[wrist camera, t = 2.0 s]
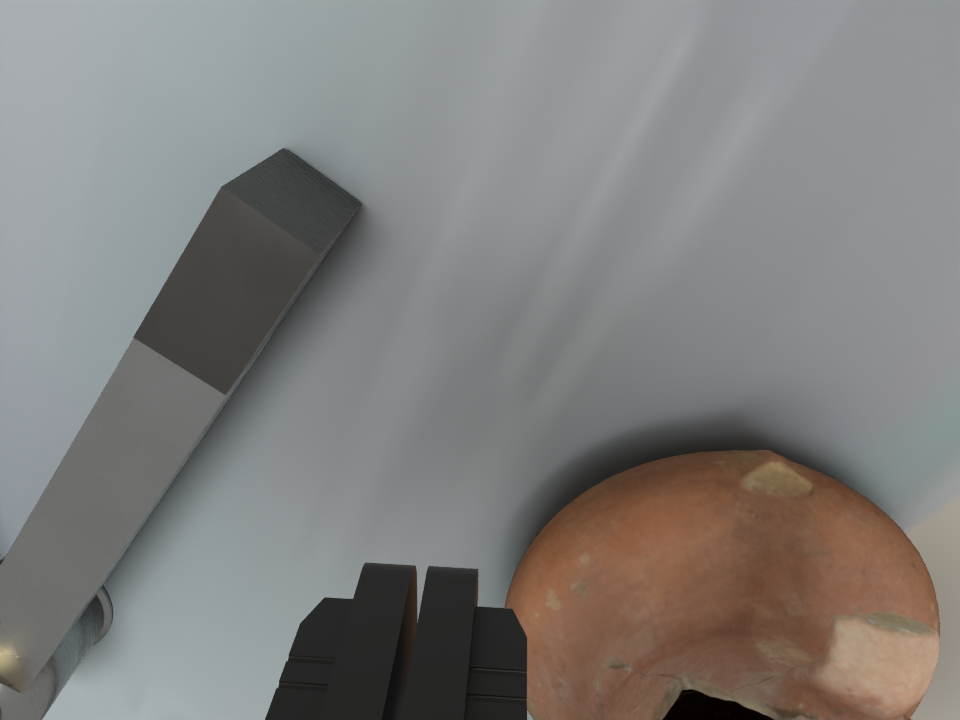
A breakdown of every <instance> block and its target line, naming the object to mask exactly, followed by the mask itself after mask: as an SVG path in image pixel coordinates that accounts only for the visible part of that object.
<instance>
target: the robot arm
mask: <svg viewBox="0 0 960 720" xmlns="http://www.w3.org/2000/svg"><path fill="white" fill-rule="evenodd" d="M477 603H478V569H468V568H451V567H434V566H429V567H428V570H427V574H426V580H425V585H424V591H423V596H422V602H421V607H420V613H419V619H418V624H417V572H416V566H414V565H397V564H380V563H365V564H364V566H363V568H362V571H361V574H360V578H359V581H358V585H357V588H356V591H355V595H354V598H353V599H341V598H324V599H323V600H322V601H321V602H320V603H319V604H318V605H317V606H316V607H315V608H314V609H313V611H312V612H311V613H310V614H309V615H308V616H307V617H306V618H305V619H304V620H303V621H302V622H301V623H300V626H299V628H298V631H297V634H296V637H295V639H294V642H293V645H292V648H291V650H290V653H289V659H288V661H286V664H285V667H284V669H283V672H282V675H281V678H280V680H279V687H278V688H277V689H276V691H275V694H274V697H273V699H272V702H271V705H270V708H269V710H268V713H267V716H266V719H265V720H527V636H526V634H525V632H524V630H523V628H522V626H521V624H520V622H519V620H518V618H517V616H516V615H515V613H514V611H513V609H507V608H491V607H477Z"/></svg>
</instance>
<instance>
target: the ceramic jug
mask: <svg viewBox="0 0 960 720" xmlns="http://www.w3.org/2000/svg"><path fill="white" fill-rule="evenodd" d="M505 608H507V609H513V611H514V613H515V615H516V616H517V618H518V620H519V622H520V624H521V626H522V628H523V630H524V632H525V634H526V636H527V710H528V712H529V713H530V715H531V716H532V717H533V719H534V720H911V719H910V717H911V716H912V715H913V713H914V712H915V710H916V708H917V707H918V705H919V704H920V702H921V700H922V698H923V696H924V695H925V693H926V691H927V689H928V687H929V685H930V683H931V678H932V675H933V673H934V670H935V668H936V665H937V660H938V656H939V651H940V643H939V642H940V641H939V638H940V622H939V611H938V603H937V600H936V594H935V590H934V586H933V583H932V580H931V577H930V575H929V572H928V570H927V567H926V565H925V563H924V562H923V559H922V558H921V556H920V554H919V552H918V551H917V549H916V548H915V546H914V545H913V544H912V542H911V541H910V540H909V538H908V537H907V536H906V534H905V533H904V532H903V531H902V529H901V528H900V527H899V526H898V525H897V524H896V523H895V522H894V521H893V520H892V519H891V518H890V517H889V516H888V515H887V514H886V513H885V512H883V511H882V510H881V509H880V508H879V507H878V506H876V505H875V504H874V503H872V502H871V501H870V500H868V499H867V498H866V497H864V496H863V495H861V494H860V493H858V492H857V491H855V490H854V489H852V488H850V487H849V486H847V485H845V484H843V483H841V482H840V481H838V480H836V479H834V478H832V477H830V476H828V475H825V474H823V473H821V472H819V471H816V470H813V469H811V468H809V467H806V466H804V465H801V464H798V463H795V462H791V461H789V460H788V459H786V458H785V457H783V456H781V455H778V454H775V453H774V452H772V451H770V450H752V451H745V450H730V451H709V452H696V453H689V454H682V455H677V456H672V457H666V458H662V459H659V460H655V461H651V462H648V463H645V464H642V465H638V466H636V467H633V468H630V469H628V470H625V471H623V472H620V473H618V474H616V475H613V476H611V477H609V478H607V479H605V480H603V481H602V482H600V483H598V484H596V485H595V486H593V487H591V488H590V489H588V490H587V491H585V492H584V493H582V494H581V495H579V496H578V497H577V498H575V499H574V500H573V501H571V502H570V503H568V504H567V505H566V506H565V507H564V508H563V509H561V510H560V511H559V512H558V513H557V514H556V515H555V516H554V517H553V518H552V519H551V520H550V521H549V522H548V523H547V524H546V525H545V527H544V528H543V529H542V530H541V531H540V533H539V534H538V535H537V536H536V538H535V539H534V540H533V542H532V543H531V545H530V546H529V548H528V549H527V551H526V553H525V554H524V556H523V558H522V560H521V561H520V563H519V565H518V567H517V569H516V571H515V574H514V577H513V579H512V582H511V585H510V588H509V591H508V594H507V598H506V603H505Z"/></svg>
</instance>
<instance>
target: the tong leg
mask: <svg viewBox="0 0 960 720" xmlns="http://www.w3.org/2000/svg"><path fill="white" fill-rule="evenodd" d="M360 206H361V203H360V202H359V201H357V200H356V199H354V198H353V197H352V196H350V195H349V194H347V193H346V192H345V191H343V190H342V189H341V188H339V187H338V186H336V185H335V184H334V183H332V182H331V181H329V180H328V179H327V178H325V177H324V176H322V175H321V174H320V173H318V172H317V171H315V170H314V169H313V168H311V167H310V166H308V165H307V164H306V163H304V162H303V161H301V160H300V159H299V158H297V157H296V156H294V155H293V154H292V153H290V152H289V151H288V150H286V149H285V148H283V149H281V150H280V151H278V152H277V153H275V154H273V155H272V156H270V157H269V158H267V159H265V160H264V161H262V162H261V163H259V164H257V165H256V166H254V167H253V168H251V169H249V170H248V171H246V172H245V173H243V174H241V175H240V176H238V177H237V178H235V179H233V180H232V181H230V182H228V183H227V184H225V185H224V186H222V187H221V189H220V190H219V192H218V194H217V195H216V197H215V199H214V200H213V202H212V204H211V206H210V207H209V209H208V211H207V212H206V214H205V216H204V218H203V219H202V221H201V223H200V224H199V226H198V228H197V230H196V231H195V233H194V235H193V236H192V238H191V240H190V241H189V243H188V245H187V247H186V248H185V250H184V252H183V253H182V255H181V257H180V259H179V260H178V262H177V264H176V265H175V267H174V269H173V271H172V272H171V274H170V276H169V277H168V279H167V281H166V282H165V284H164V286H163V288H162V289H161V291H160V293H159V294H158V296H157V298H156V300H155V301H154V303H153V305H152V306H151V308H150V310H149V312H148V313H147V315H146V317H145V318H144V320H143V322H142V323H141V325H140V327H139V329H138V330H137V332H136V334H135V335H134V337H133V338H134V339H133V340H132V342H131V344H130V345H129V347H128V349H127V351H126V352H125V354H124V356H123V357H122V359H121V361H120V363H119V364H118V366H117V368H116V369H115V371H114V373H113V374H112V376H111V378H110V380H109V381H108V383H107V385H106V386H105V388H104V390H103V392H102V393H101V395H100V397H99V398H98V400H97V402H96V403H95V405H94V407H93V409H92V410H91V412H90V414H89V415H88V417H87V419H86V421H85V422H84V424H83V426H82V427H81V429H80V431H79V432H78V434H77V436H76V438H75V439H74V441H73V443H72V444H71V446H70V448H69V450H68V451H67V453H66V455H65V456H64V458H63V460H62V461H61V463H60V465H59V467H58V468H57V470H56V472H55V473H54V475H53V477H52V479H51V480H50V482H49V484H48V485H47V487H46V489H45V490H44V492H43V494H42V496H41V497H40V499H39V501H38V502H37V504H36V506H35V508H34V509H33V511H32V513H31V514H30V516H29V518H28V520H27V521H26V523H25V525H24V526H23V528H22V530H21V531H20V533H19V535H18V537H17V538H16V540H15V542H14V543H13V545H12V547H11V549H10V550H9V552H8V554H7V555H6V557H5V559H4V560H3V562H2V564H1V566H0V714H1V720H42V719H43V717H44V716H45V714H46V713H47V711H48V710H49V708H50V707H51V705H52V704H53V702H54V701H55V699H56V698H57V696H58V695H59V693H60V692H61V691H62V689H63V688H64V686H65V685H66V683H67V682H68V680H69V679H70V677H71V676H72V674H73V673H74V671H75V670H76V668H77V667H78V665H79V664H80V662H81V661H82V659H83V658H84V656H85V655H86V653H87V652H88V650H89V649H90V647H91V646H92V645H93V643H94V642H95V640H96V639H97V637H98V636H99V634H100V632H101V631H102V628H103V625H104V611H103V607H102V604H101V602H100V600H99V598H98V596H97V593H98V592H99V590H100V589H101V587H102V586H103V584H104V583H105V581H106V580H107V578H108V577H109V575H110V574H111V573H112V571H113V570H114V568H115V567H116V565H117V564H118V562H119V561H120V559H121V558H122V556H123V555H124V553H125V552H126V550H127V549H128V547H129V546H130V544H131V543H132V542H133V540H134V539H135V537H136V536H137V534H138V533H139V531H140V530H141V528H142V527H143V525H144V524H145V522H146V521H147V519H148V518H149V516H150V515H151V514H152V512H153V511H154V509H155V508H156V506H157V505H158V503H159V502H160V500H161V499H162V497H163V496H164V494H165V493H166V491H167V490H168V488H169V487H170V486H171V484H172V483H173V481H174V480H175V478H176V477H177V475H178V474H179V472H180V471H181V469H182V468H183V466H184V465H185V463H186V462H187V460H188V459H189V458H190V456H191V455H192V453H193V452H194V450H195V449H196V447H197V446H198V444H199V443H200V441H201V440H202V438H203V437H204V435H205V434H206V432H207V431H208V429H209V428H210V427H211V425H212V424H213V422H214V421H215V419H216V418H217V416H218V415H219V413H220V412H221V410H222V409H223V407H224V406H225V404H226V403H227V401H228V400H229V399H230V397H231V396H232V394H233V393H234V391H235V390H236V388H237V387H238V385H239V384H240V382H241V381H242V379H243V378H244V376H245V375H246V373H247V372H248V371H249V369H250V368H251V366H252V365H253V363H254V362H255V360H256V359H257V357H258V356H259V354H260V353H261V351H262V350H263V348H264V347H265V345H266V344H267V342H268V341H269V340H270V338H271V337H272V335H273V334H274V332H275V331H276V329H277V328H278V326H279V325H280V323H281V322H282V321H283V319H284V318H285V316H286V315H287V313H288V312H289V310H290V309H291V307H292V306H293V304H294V303H295V301H296V300H297V298H298V297H299V295H300V294H301V292H302V291H303V290H304V288H305V287H306V285H307V284H308V282H309V281H310V279H311V278H312V276H313V275H314V273H315V272H316V270H317V269H318V267H319V266H320V264H321V263H322V262H323V260H324V259H325V257H326V256H327V254H328V253H329V251H330V250H331V248H332V247H333V245H334V244H335V242H336V241H337V239H338V238H339V236H340V235H341V234H342V232H343V231H344V229H345V228H346V226H347V225H348V223H349V222H350V220H351V219H352V217H353V216H354V214H355V213H356V211H357V210H358V208H359V207H360Z"/></svg>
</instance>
